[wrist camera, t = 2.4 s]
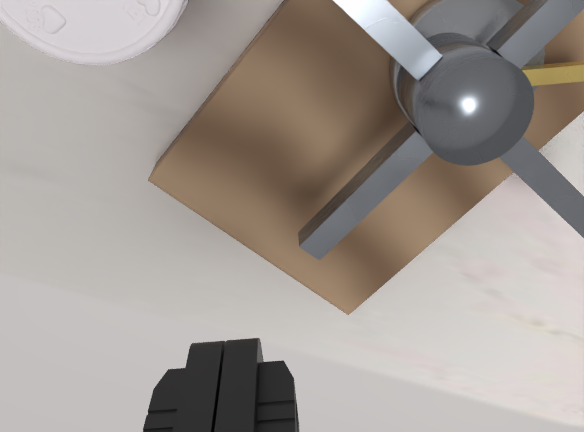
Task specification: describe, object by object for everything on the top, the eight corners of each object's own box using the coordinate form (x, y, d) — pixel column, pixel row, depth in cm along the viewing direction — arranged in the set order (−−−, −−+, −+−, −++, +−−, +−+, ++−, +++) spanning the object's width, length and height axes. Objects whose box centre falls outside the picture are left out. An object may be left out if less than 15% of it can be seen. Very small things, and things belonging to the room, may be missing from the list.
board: (344, 294, 33) (348, 317, 31) (155, 163, 28) (147, 181, 26) (624, 43, 25) (653, 53, 23) (434, -192, 20) (450, -203, 19)
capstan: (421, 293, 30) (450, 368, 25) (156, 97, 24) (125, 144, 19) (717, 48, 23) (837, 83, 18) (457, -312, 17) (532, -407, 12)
